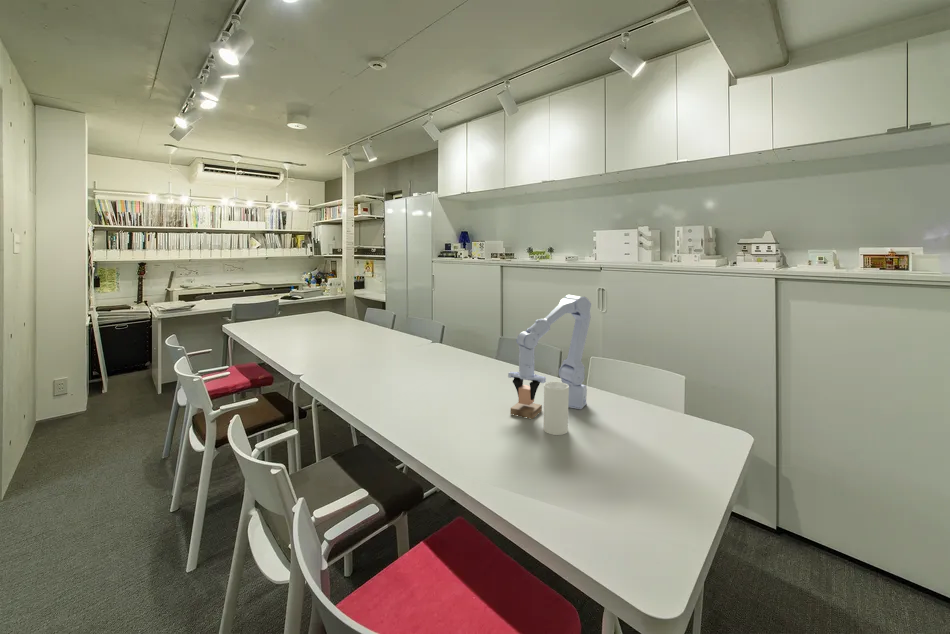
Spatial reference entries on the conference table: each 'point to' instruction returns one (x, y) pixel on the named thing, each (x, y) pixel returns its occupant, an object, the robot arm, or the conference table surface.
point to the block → (525, 395)
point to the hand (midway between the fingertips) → (526, 398)
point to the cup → (556, 408)
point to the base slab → (526, 410)
